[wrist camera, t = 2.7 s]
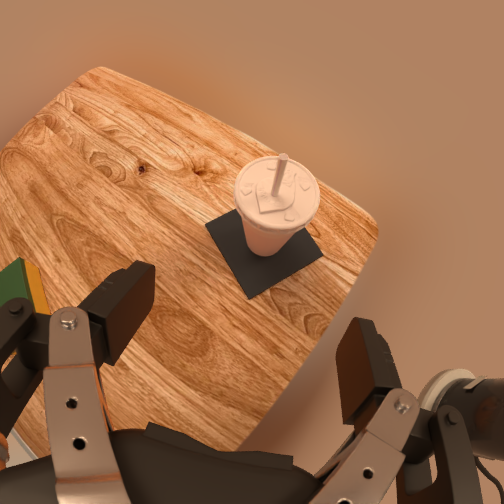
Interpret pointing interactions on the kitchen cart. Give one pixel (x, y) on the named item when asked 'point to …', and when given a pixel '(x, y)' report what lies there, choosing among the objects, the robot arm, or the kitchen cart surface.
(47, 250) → the kitchen cart surface
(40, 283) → the scrubber
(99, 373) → the robot arm
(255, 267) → the cloth
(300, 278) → the kitchen cart surface
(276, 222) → the smoothie
